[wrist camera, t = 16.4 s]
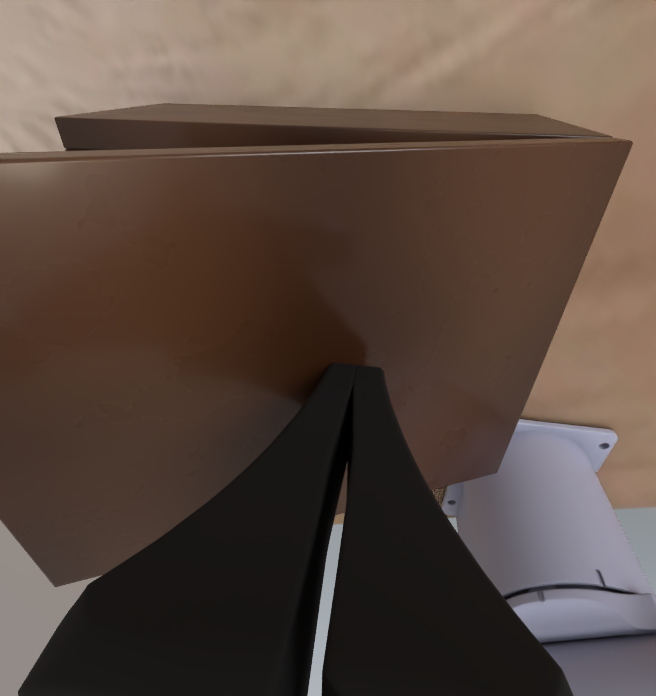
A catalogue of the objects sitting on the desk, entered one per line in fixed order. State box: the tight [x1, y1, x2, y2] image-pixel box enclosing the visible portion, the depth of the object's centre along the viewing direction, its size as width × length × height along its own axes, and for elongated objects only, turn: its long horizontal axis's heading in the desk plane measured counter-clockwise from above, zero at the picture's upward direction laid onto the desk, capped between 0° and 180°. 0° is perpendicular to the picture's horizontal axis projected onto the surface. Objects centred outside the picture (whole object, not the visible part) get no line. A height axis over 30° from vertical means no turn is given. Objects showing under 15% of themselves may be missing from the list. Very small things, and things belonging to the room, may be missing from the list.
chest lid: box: [0, 137, 633, 587], centre depth 11 cm, size 15×12×1 cm
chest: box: [55, 103, 612, 151], centre depth 16 cm, size 15×12×6 cm
